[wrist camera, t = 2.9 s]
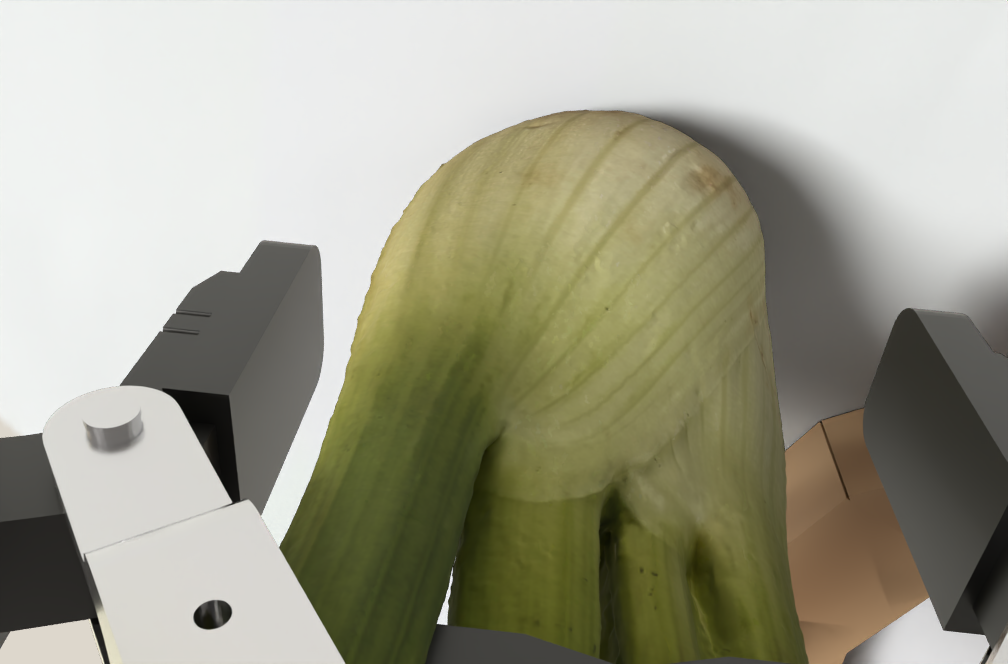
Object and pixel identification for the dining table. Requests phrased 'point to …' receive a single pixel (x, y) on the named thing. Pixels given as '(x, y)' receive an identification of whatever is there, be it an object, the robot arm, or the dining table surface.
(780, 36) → the dining table surface
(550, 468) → the fennel bulb
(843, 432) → the walnut ring
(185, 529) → the robot arm
